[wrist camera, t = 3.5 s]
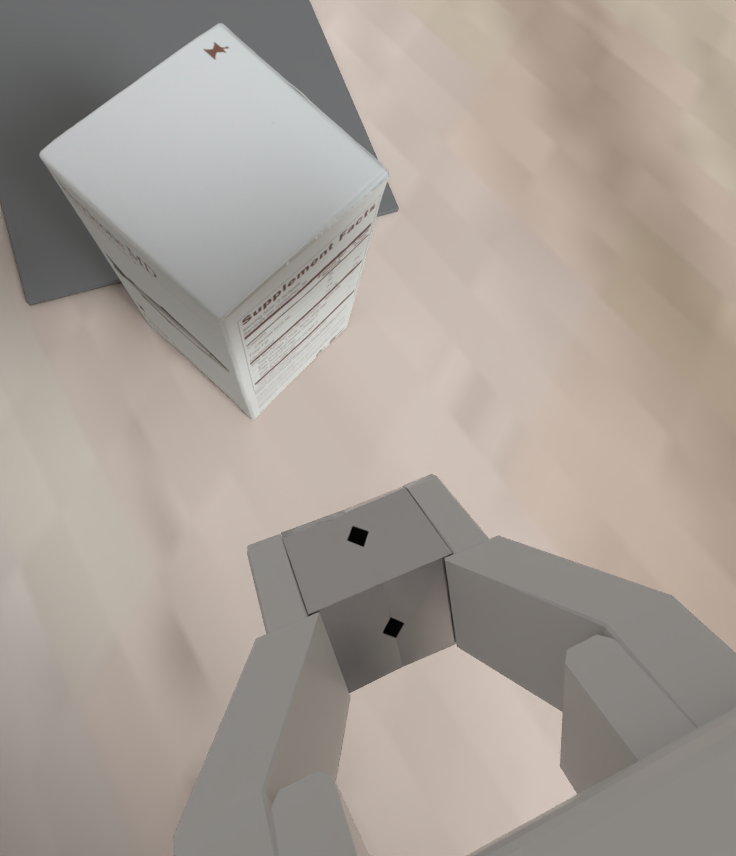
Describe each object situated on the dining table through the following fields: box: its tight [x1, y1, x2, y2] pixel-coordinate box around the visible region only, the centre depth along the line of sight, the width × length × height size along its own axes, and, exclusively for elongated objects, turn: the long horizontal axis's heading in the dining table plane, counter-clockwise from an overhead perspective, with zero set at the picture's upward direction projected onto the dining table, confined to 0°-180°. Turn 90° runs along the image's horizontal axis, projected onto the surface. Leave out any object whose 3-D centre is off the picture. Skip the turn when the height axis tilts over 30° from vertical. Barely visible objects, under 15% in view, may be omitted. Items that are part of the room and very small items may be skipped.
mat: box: [0, 0, 399, 305], centre depth 31 cm, size 22×20×1 cm
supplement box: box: [39, 23, 389, 420], centre depth 22 cm, size 7×7×13 cm
